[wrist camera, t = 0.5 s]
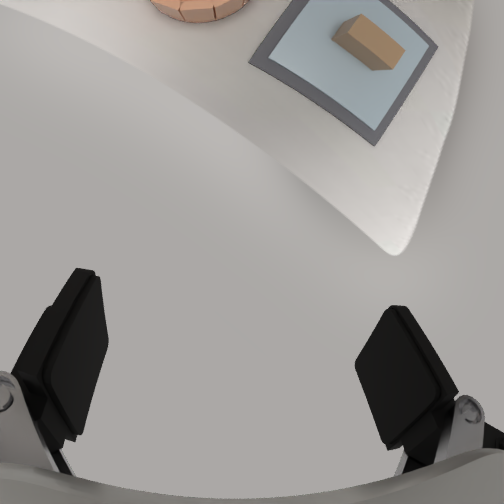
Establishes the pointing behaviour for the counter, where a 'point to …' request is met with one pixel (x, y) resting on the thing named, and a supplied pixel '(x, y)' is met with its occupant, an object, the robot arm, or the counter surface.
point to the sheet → (343, 66)
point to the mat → (319, 97)
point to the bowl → (198, 9)
